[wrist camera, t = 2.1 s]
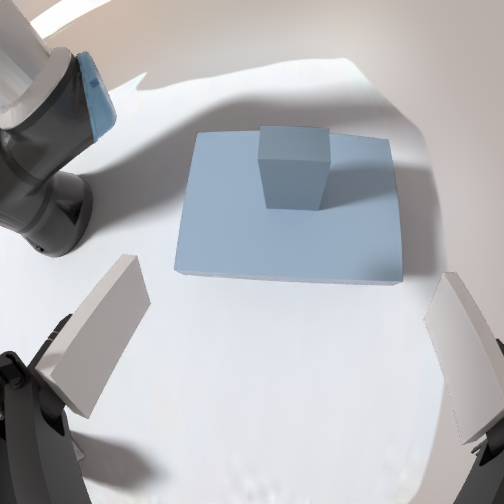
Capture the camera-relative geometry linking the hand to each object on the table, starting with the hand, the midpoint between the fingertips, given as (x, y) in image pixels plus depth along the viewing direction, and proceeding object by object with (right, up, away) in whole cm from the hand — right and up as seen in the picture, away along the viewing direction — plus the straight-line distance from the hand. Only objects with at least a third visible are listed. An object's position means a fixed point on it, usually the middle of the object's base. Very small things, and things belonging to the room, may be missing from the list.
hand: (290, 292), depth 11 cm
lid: (+3, +6, +19) cm, 20 cm away
